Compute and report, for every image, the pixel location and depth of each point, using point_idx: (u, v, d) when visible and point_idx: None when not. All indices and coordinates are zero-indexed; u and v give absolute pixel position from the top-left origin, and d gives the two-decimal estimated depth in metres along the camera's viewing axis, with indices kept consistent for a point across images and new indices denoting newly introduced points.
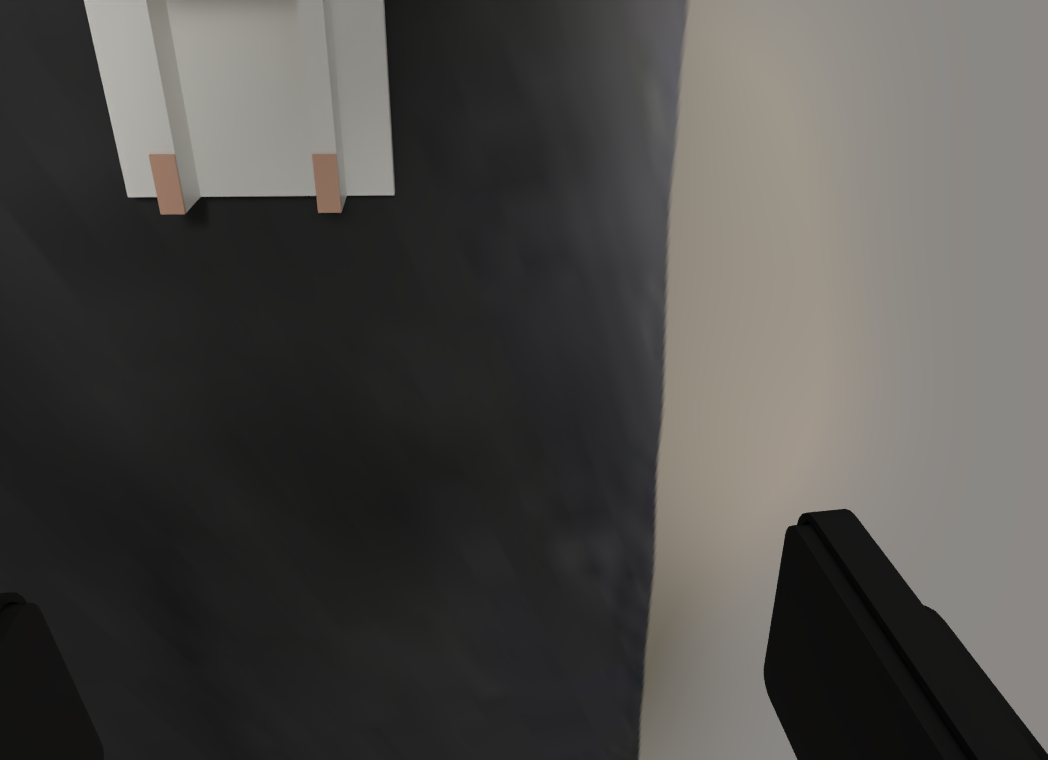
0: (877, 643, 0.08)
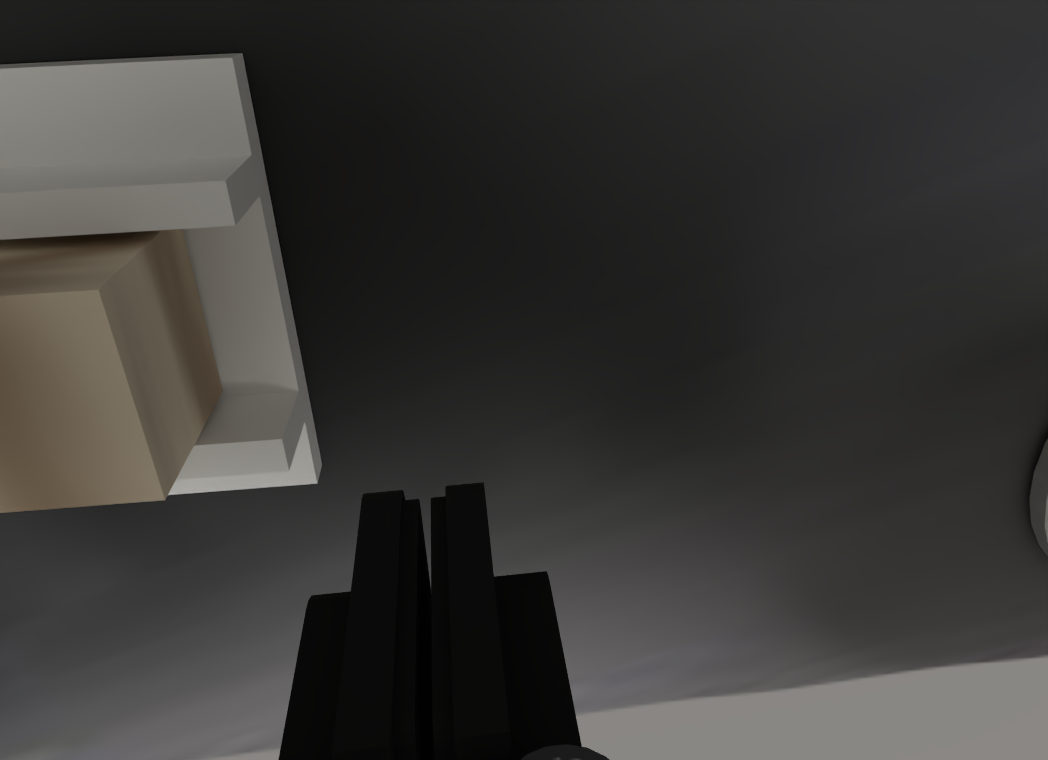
0: (437, 599, 0.09)
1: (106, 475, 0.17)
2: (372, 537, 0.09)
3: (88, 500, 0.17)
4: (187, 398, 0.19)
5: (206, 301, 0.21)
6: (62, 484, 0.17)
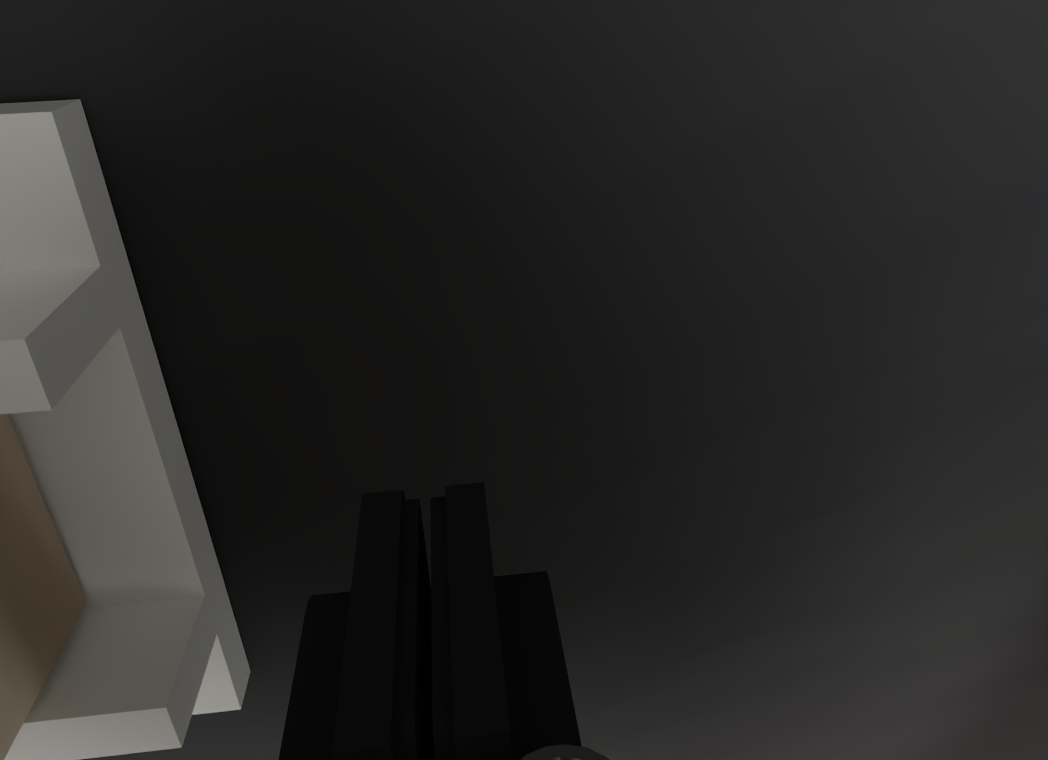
0: (437, 600, 0.09)
1: None
2: (372, 537, 0.09)
3: None
4: (0, 665, 0.12)
5: (49, 481, 0.13)
6: None
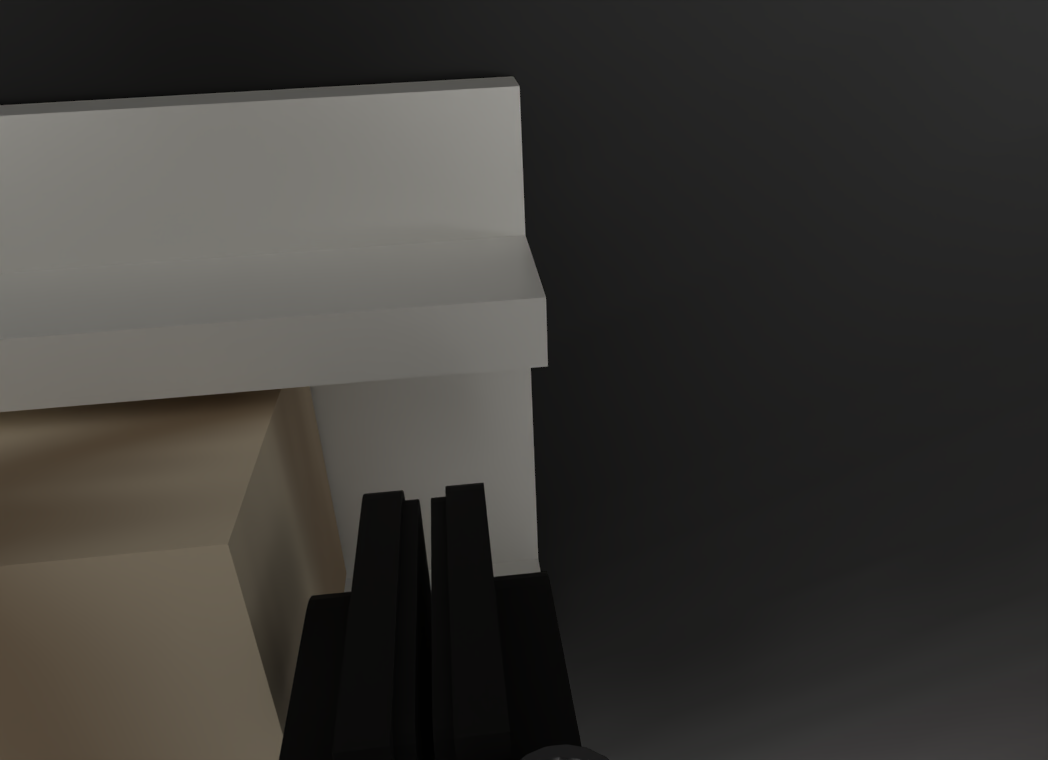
0: (437, 600, 0.09)
1: None
2: (372, 537, 0.09)
3: None
4: None
5: (425, 445, 0.14)
6: None
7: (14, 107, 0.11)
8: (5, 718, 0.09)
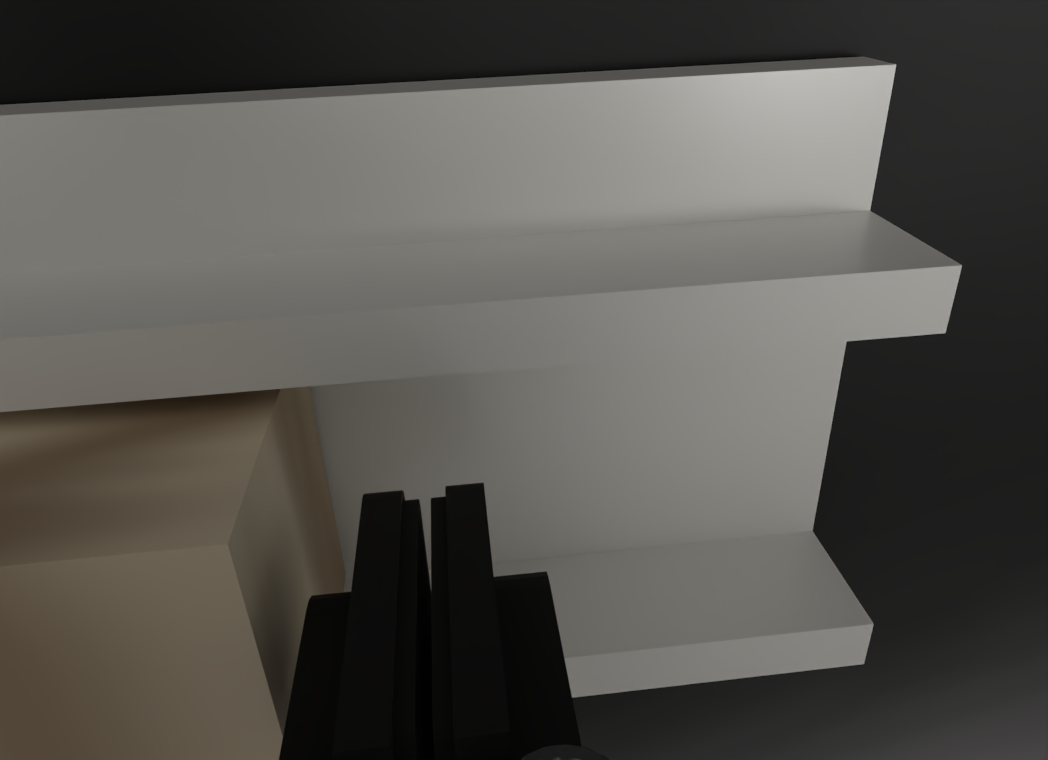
0: (437, 600, 0.09)
1: None
2: (372, 537, 0.09)
3: None
4: None
5: (732, 417, 0.14)
6: None
7: (406, 84, 0.12)
8: (4, 719, 0.09)
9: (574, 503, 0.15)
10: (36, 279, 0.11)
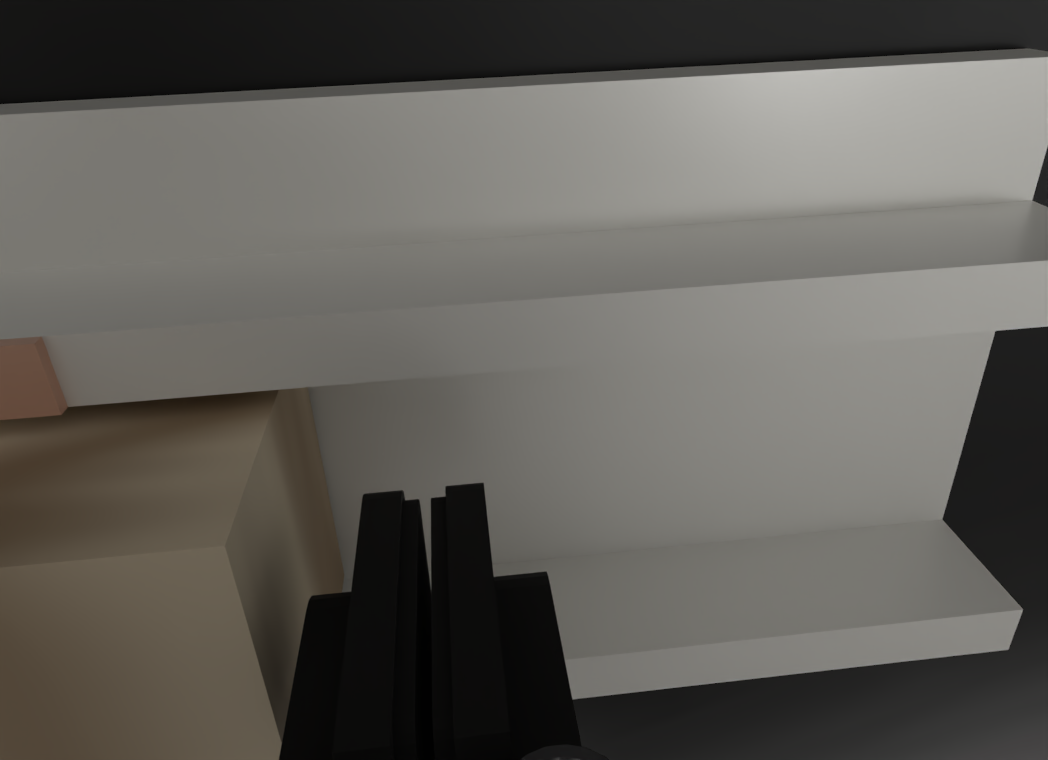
0: (437, 600, 0.09)
1: None
2: (372, 537, 0.09)
3: None
4: None
5: (877, 405, 0.14)
6: None
7: (589, 75, 0.12)
8: (1, 721, 0.09)
9: (715, 490, 0.15)
10: (229, 265, 0.11)
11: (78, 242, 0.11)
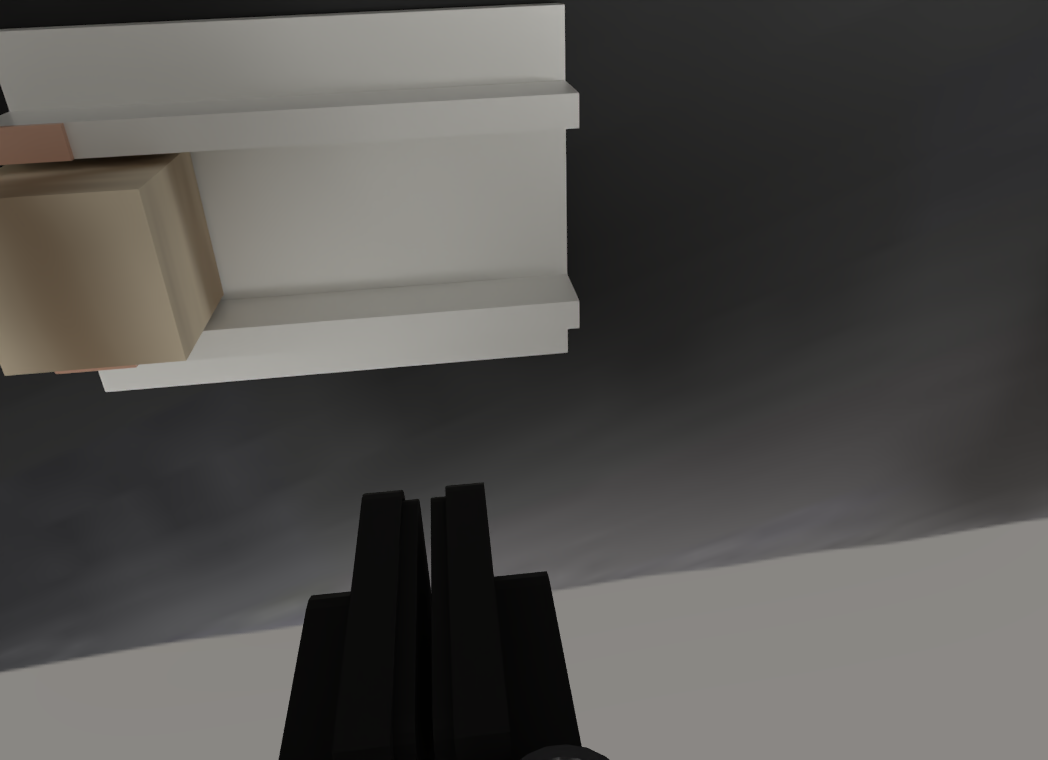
0: (437, 599, 0.09)
1: (141, 339, 0.22)
2: (372, 537, 0.09)
3: (127, 360, 0.22)
4: (198, 290, 0.24)
5: (510, 198, 0.27)
6: (107, 346, 0.22)
7: (329, 14, 0.24)
8: (47, 277, 0.21)
9: (428, 249, 0.27)
10: (151, 105, 0.24)
11: (78, 94, 0.24)
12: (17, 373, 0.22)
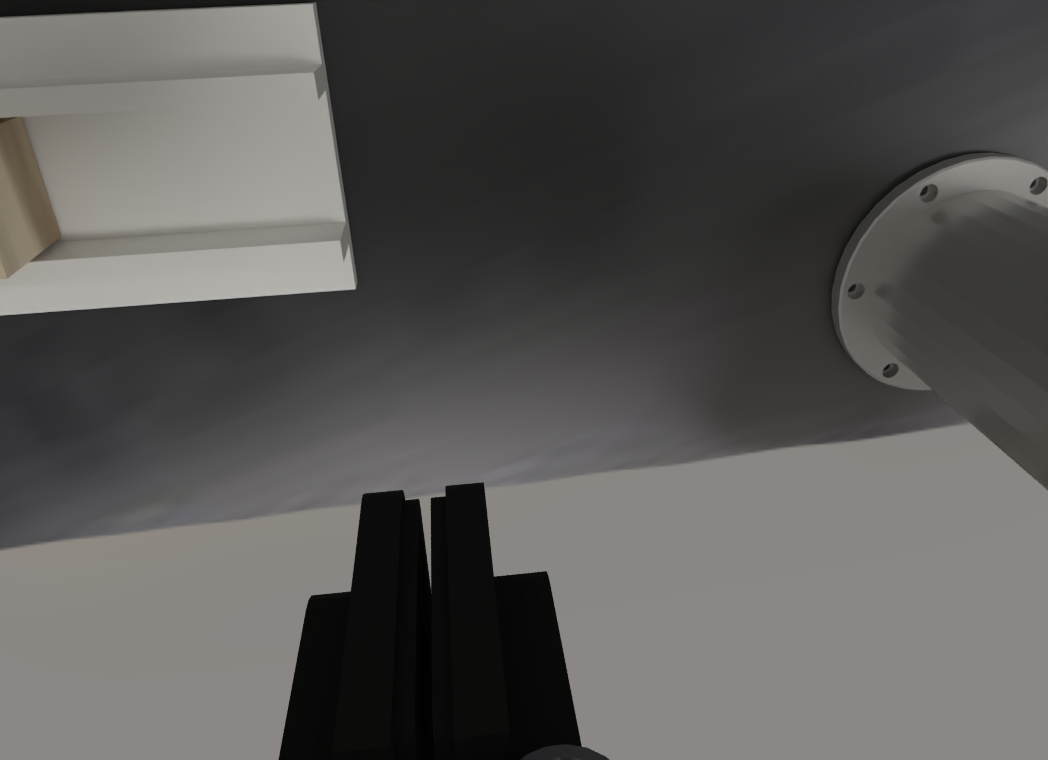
0: (437, 600, 0.09)
1: None
2: (372, 537, 0.09)
3: None
4: (27, 227, 0.31)
5: (290, 159, 0.33)
6: None
7: (128, 11, 0.31)
8: None
9: (227, 201, 0.34)
10: None
11: None
12: None
